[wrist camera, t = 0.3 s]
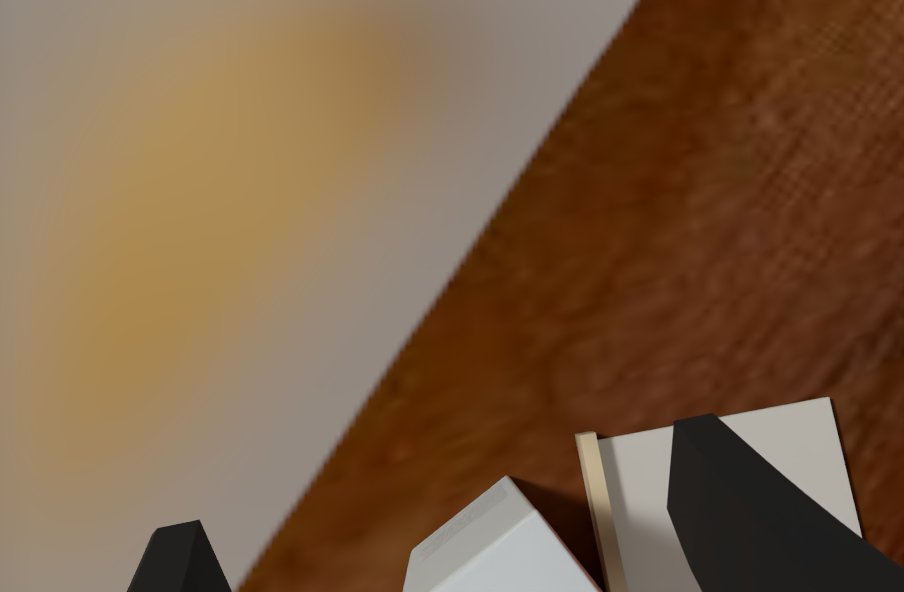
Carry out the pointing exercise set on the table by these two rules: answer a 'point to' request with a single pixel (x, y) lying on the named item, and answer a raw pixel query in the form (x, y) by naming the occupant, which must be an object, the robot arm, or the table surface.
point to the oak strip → (601, 512)
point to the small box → (496, 551)
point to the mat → (647, 478)
